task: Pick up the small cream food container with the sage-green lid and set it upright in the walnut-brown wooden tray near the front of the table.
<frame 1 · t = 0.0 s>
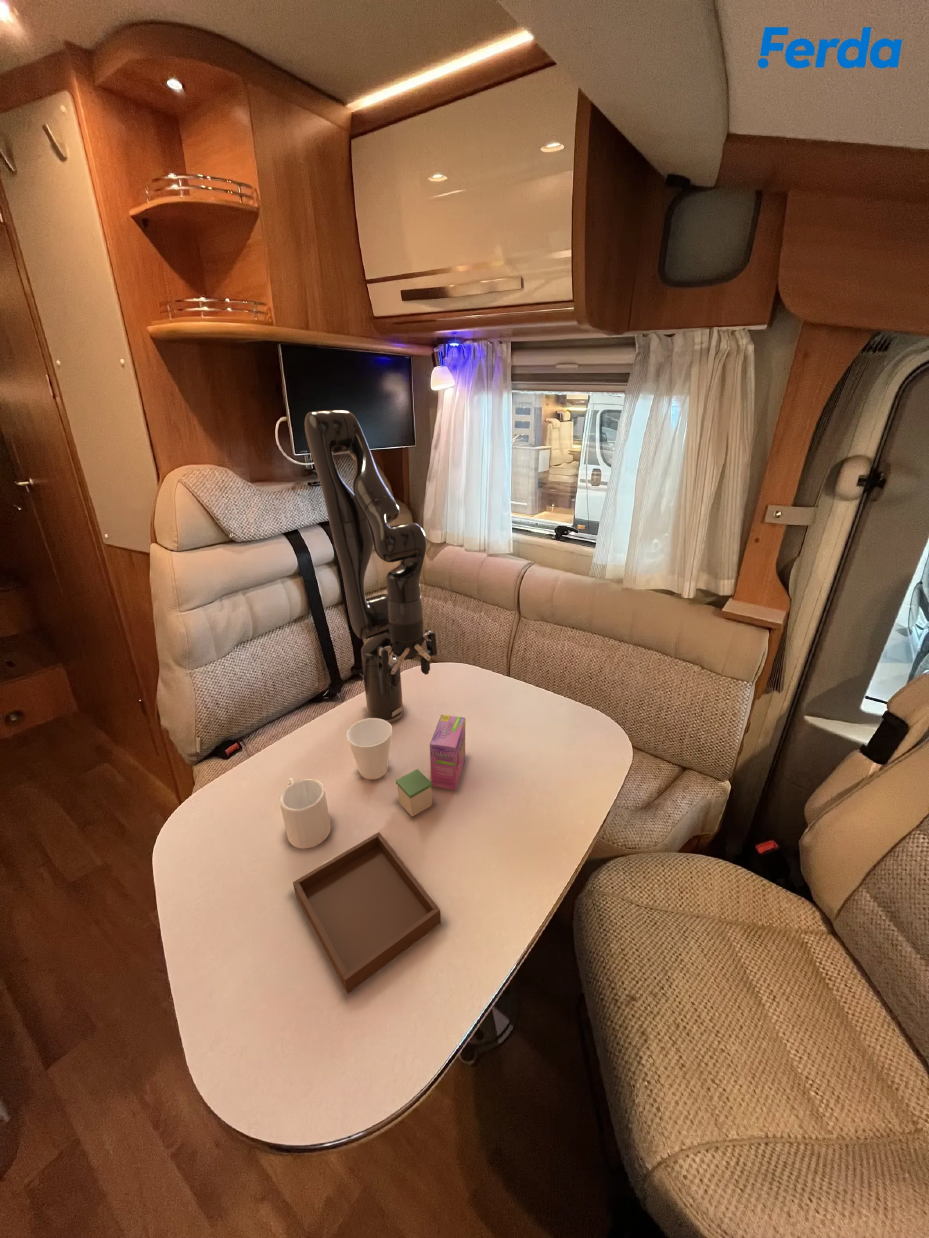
hand: (409, 679, 115), 17 cm above the table, tool pointing down, fingers open, 8 cm apart
mug: (306, 825, 99), on the table
box: (449, 772, 112), on the table
container: (415, 803, 104), on the table
cup: (373, 771, 112), on the table
tray: (366, 908, 83), on the table
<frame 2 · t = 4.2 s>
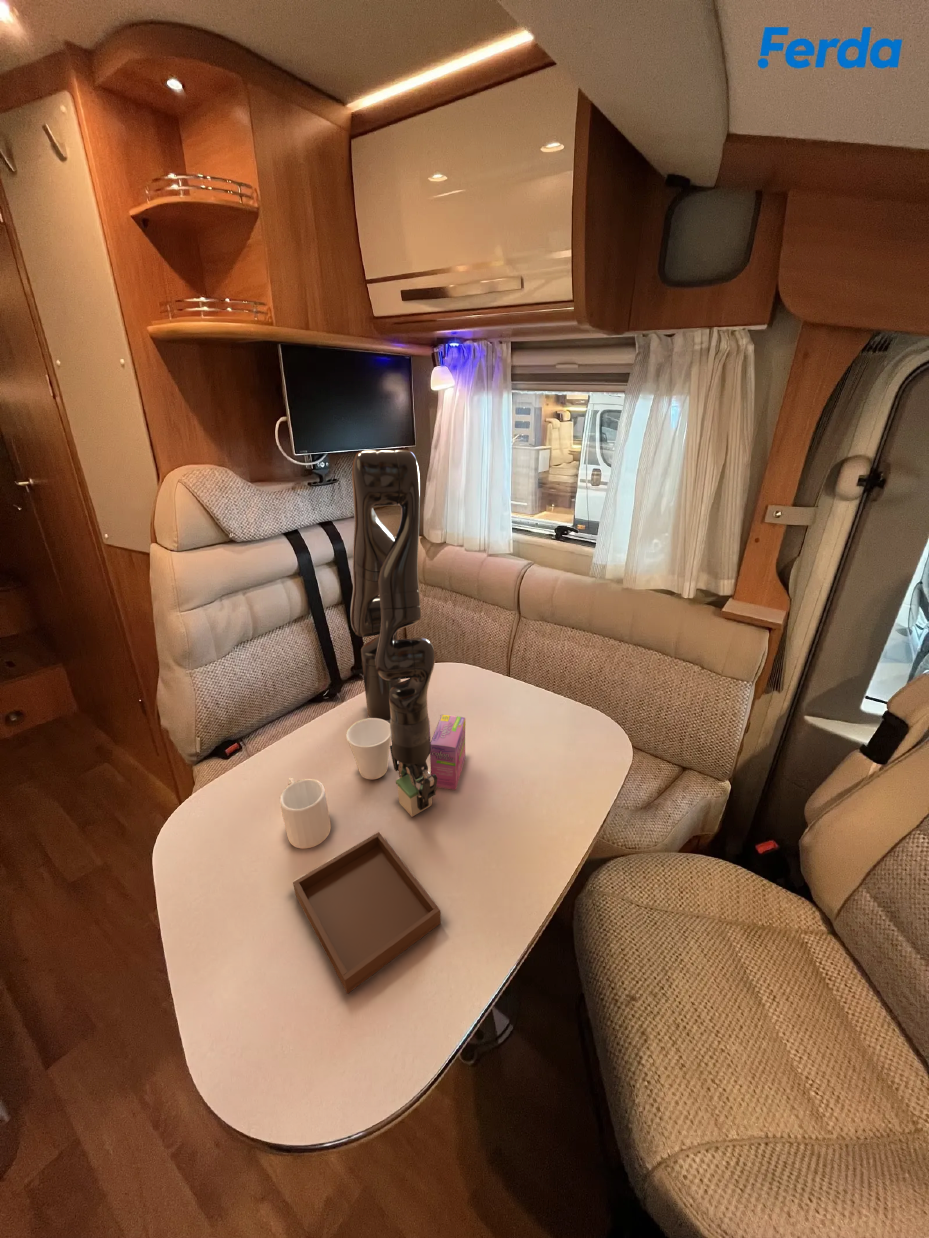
hand: (415, 798, 103), 1 cm above the table, tool pointing down, fingers closed on container, 5 cm apart
container: (415, 803, 104), on the table, touching gripper
everything else where it was.
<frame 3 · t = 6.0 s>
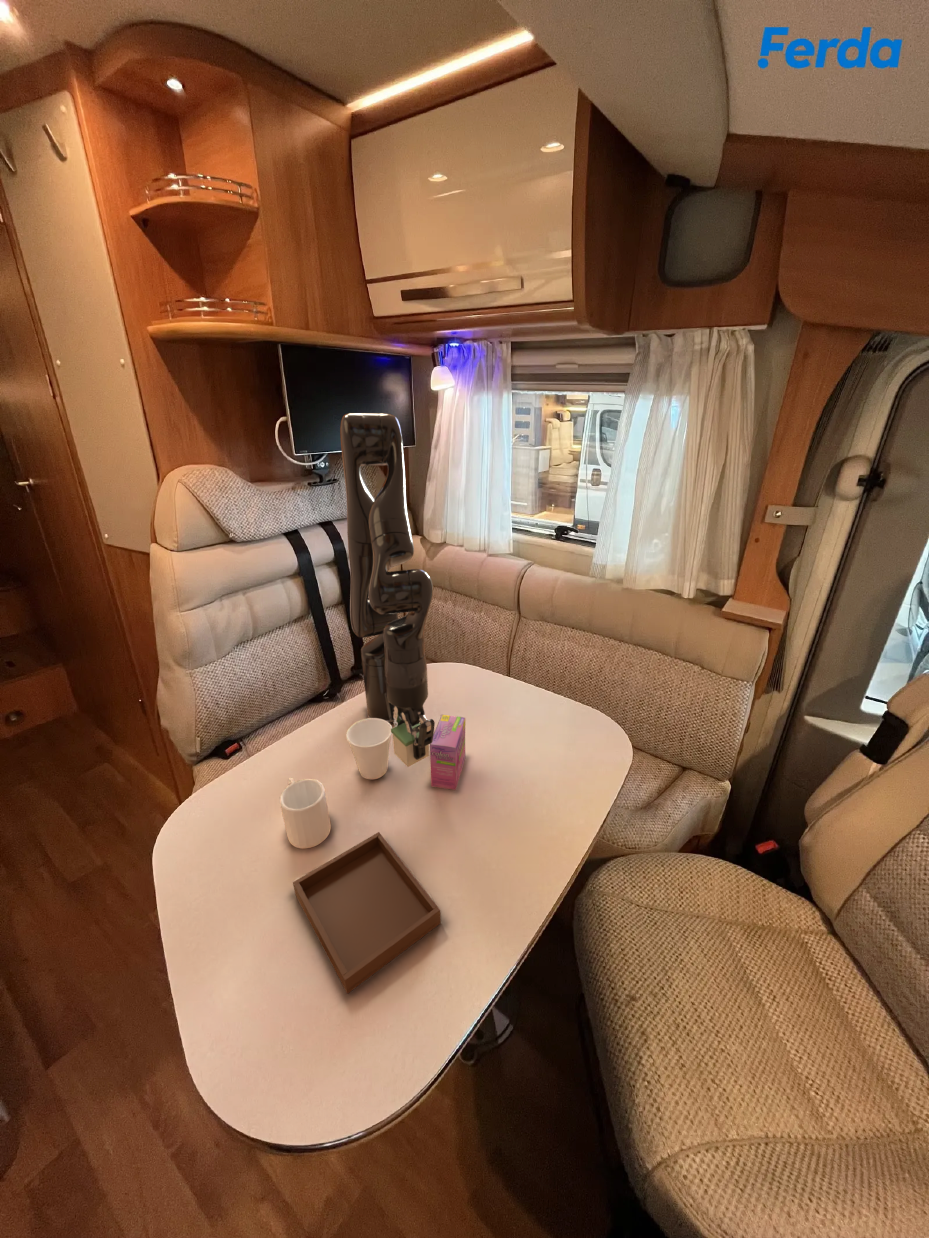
hand: (411, 748, 97), 14 cm above the table, tool pointing down, fingers closed on container, 5 cm apart
container: (411, 754, 98), point 13 cm above the table, touching gripper
everything else where it was.
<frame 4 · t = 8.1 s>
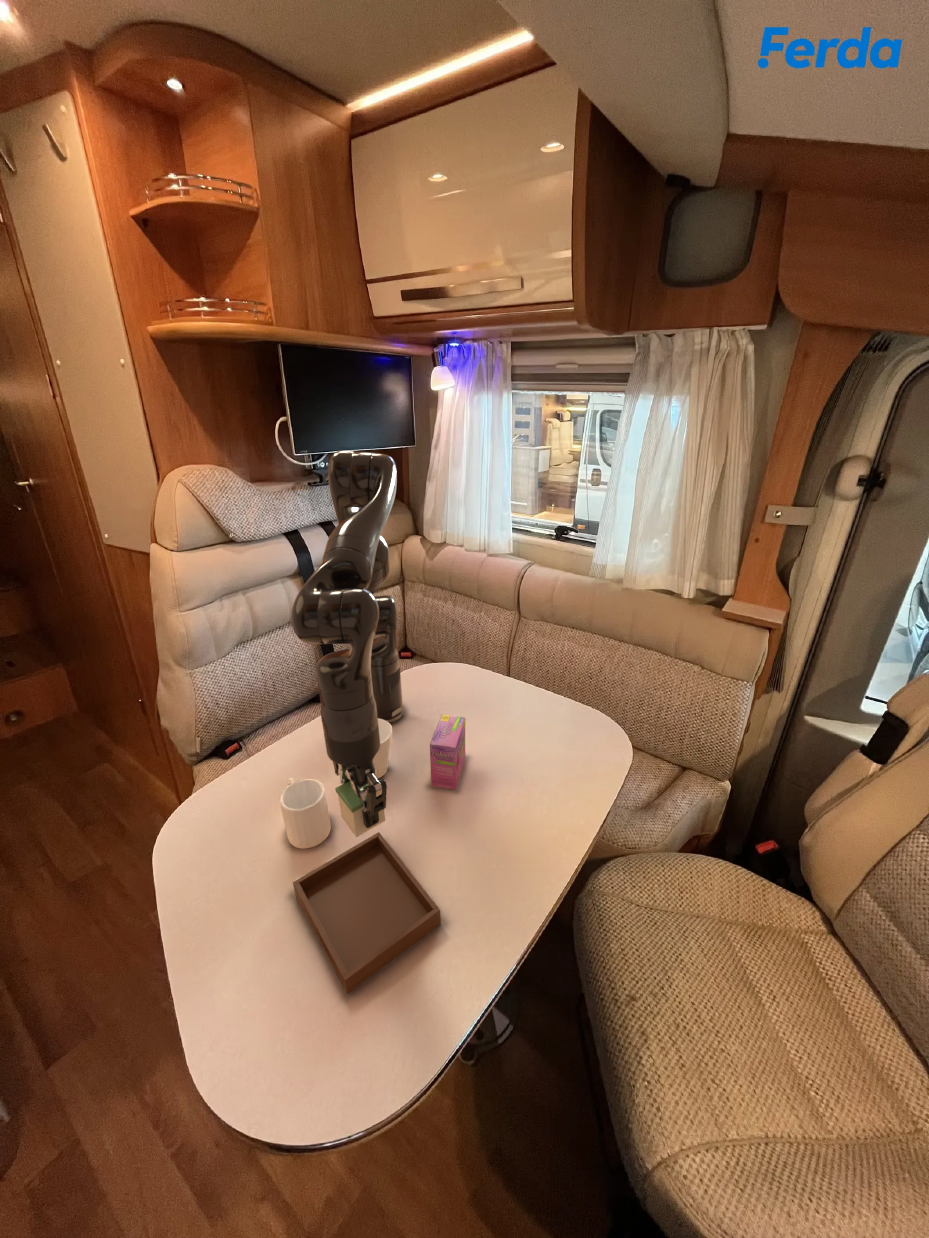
hand: (362, 811, 77), 19 cm above the table, tool pointing down, fingers closed on container, 5 cm apart
container: (363, 818, 77), point 18 cm above the table, touching gripper
everything else where it was.
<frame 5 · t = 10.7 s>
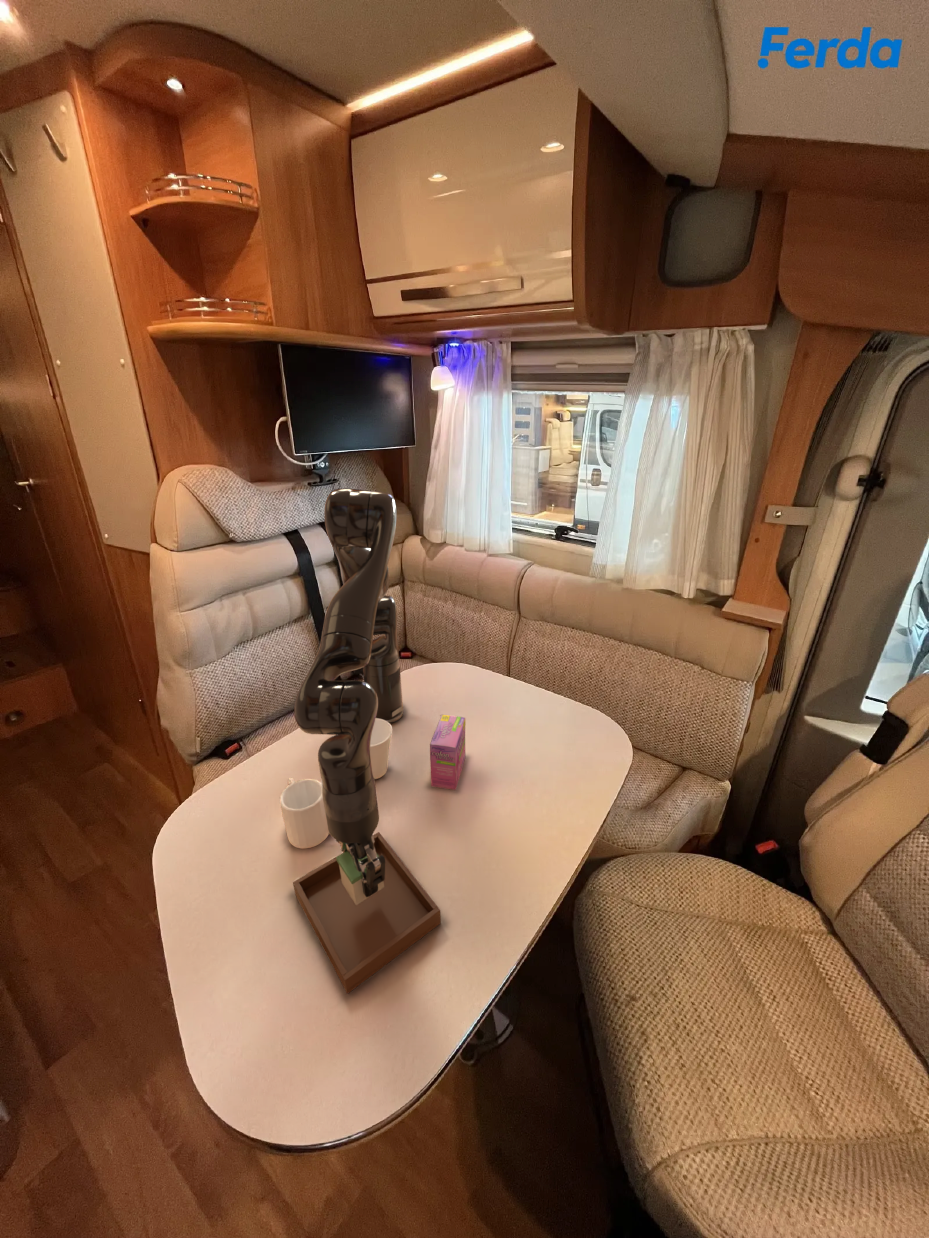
hand: (362, 878, 80), 7 cm above the table, tool pointing down, fingers closed on container, 5 cm apart
container: (363, 885, 80), point 6 cm above the table, touching gripper
everything else where it was.
when the fingers open (2 cm above the table, at t = 12.5 s): container stays where it is, resting on tray.
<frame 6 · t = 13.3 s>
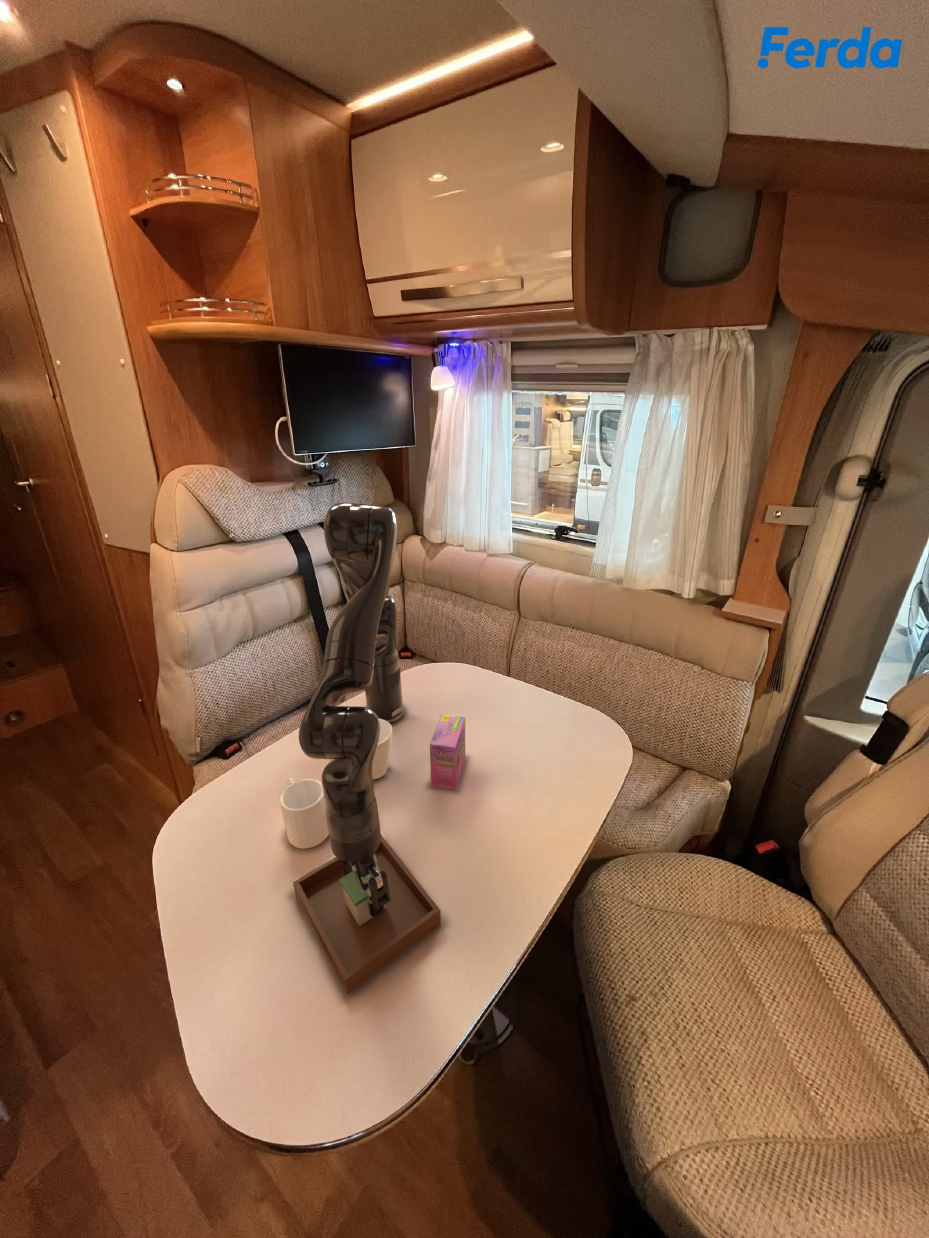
hand: (363, 892, 81), 4 cm above the table, tool pointing down, fingers open, 8 cm apart
container: (365, 905, 83), point 1 cm above the table, touching tray
everything else where it was.
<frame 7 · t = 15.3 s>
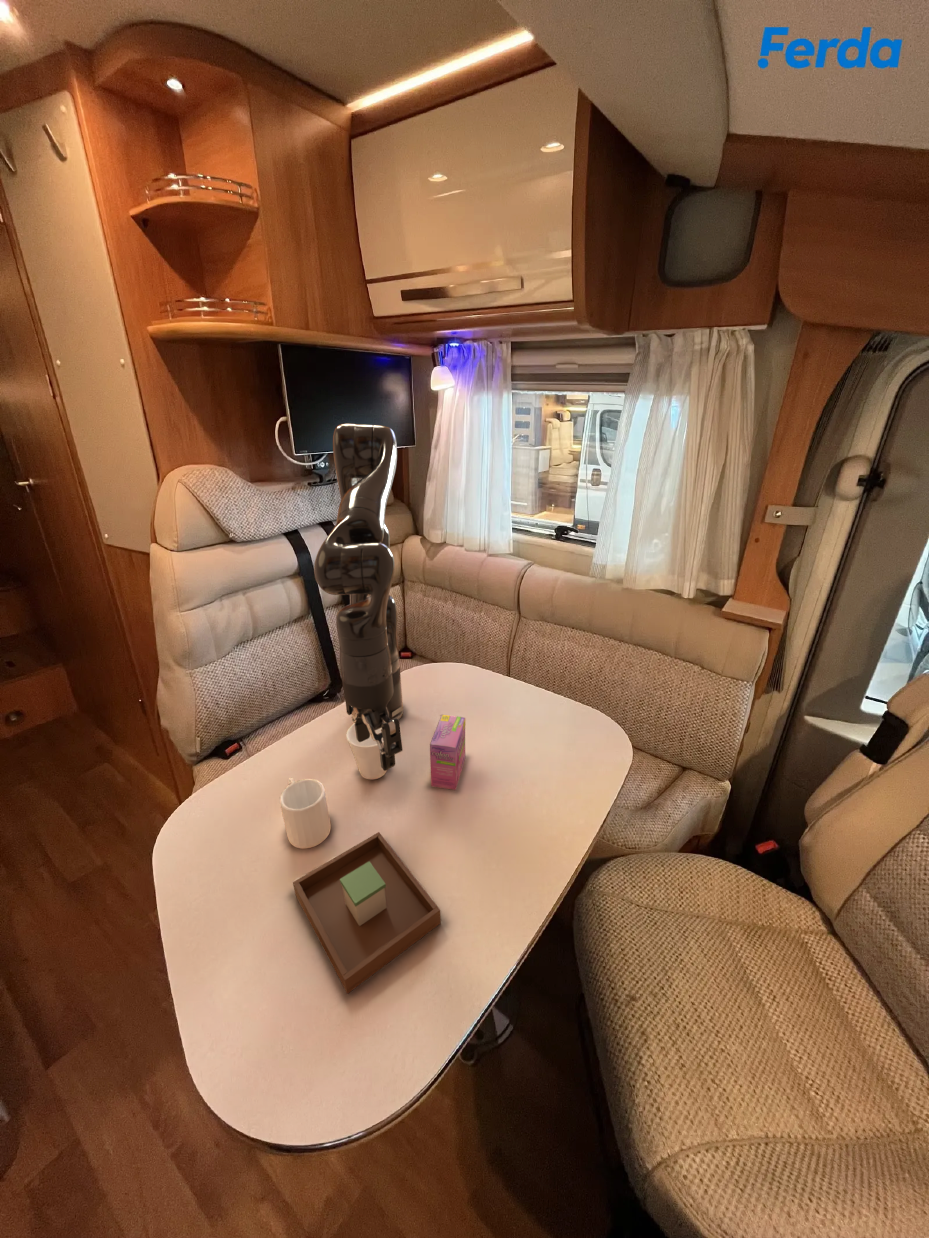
hand: (375, 752, 83), 24 cm above the table, tool pointing down, fingers open, 8 cm apart
nothing on the table moved.
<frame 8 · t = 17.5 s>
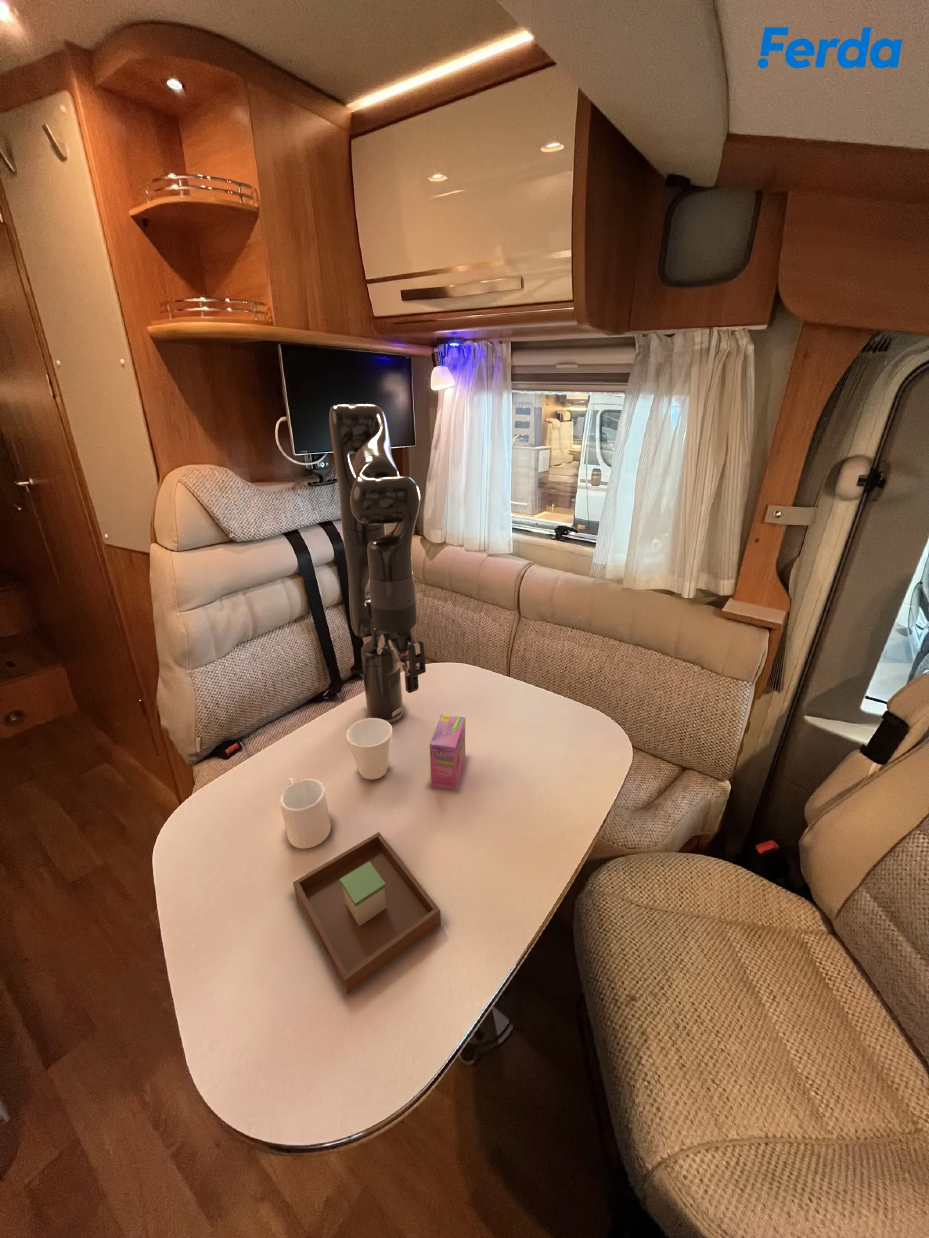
hand: (399, 680, 91), 30 cm above the table, tool pointing down, fingers open, 8 cm apart
nothing on the table moved.
at the end: container inside the target area in the tray (0.0 cm from its centre), point 0.8 cm above the tray's base; container tilted 0° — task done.
